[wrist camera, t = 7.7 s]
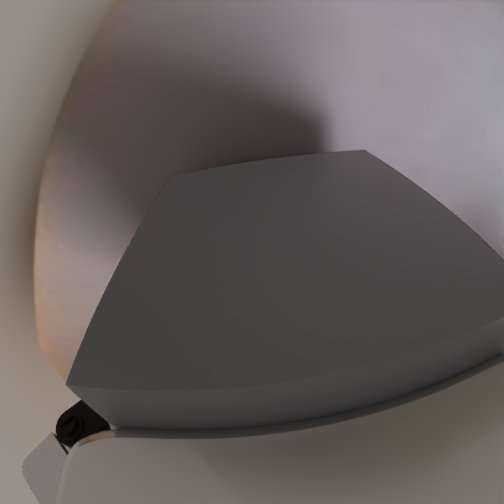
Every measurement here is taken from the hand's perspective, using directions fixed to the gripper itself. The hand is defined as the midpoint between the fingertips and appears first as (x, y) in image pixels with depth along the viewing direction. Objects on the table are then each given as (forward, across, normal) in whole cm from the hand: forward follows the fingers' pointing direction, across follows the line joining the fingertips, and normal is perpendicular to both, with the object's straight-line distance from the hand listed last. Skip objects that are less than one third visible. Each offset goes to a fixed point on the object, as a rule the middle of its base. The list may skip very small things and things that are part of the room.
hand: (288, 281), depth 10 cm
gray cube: (+2, 0, 0) cm, 2 cm away
